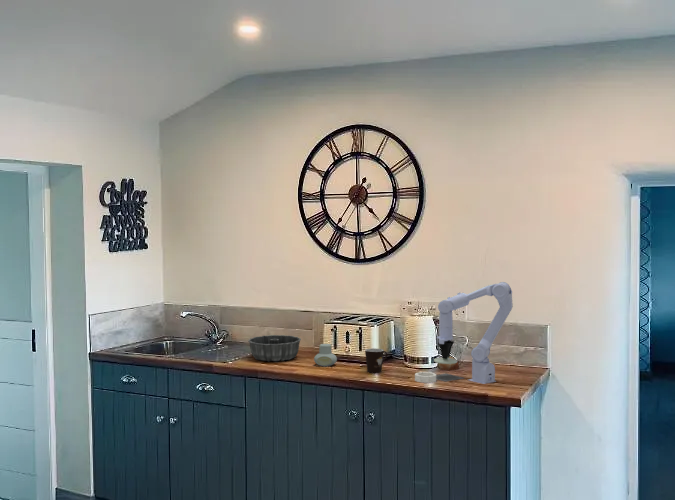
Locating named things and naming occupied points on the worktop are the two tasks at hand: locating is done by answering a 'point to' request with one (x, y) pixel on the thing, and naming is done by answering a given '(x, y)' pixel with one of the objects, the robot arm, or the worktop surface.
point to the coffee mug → (374, 360)
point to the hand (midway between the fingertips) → (445, 358)
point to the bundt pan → (274, 347)
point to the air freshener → (325, 356)
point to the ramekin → (425, 377)
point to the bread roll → (448, 366)
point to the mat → (447, 377)
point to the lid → (445, 360)
